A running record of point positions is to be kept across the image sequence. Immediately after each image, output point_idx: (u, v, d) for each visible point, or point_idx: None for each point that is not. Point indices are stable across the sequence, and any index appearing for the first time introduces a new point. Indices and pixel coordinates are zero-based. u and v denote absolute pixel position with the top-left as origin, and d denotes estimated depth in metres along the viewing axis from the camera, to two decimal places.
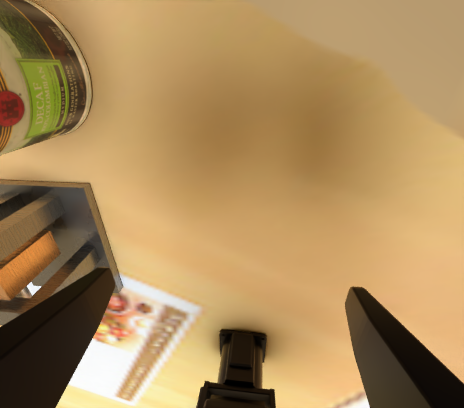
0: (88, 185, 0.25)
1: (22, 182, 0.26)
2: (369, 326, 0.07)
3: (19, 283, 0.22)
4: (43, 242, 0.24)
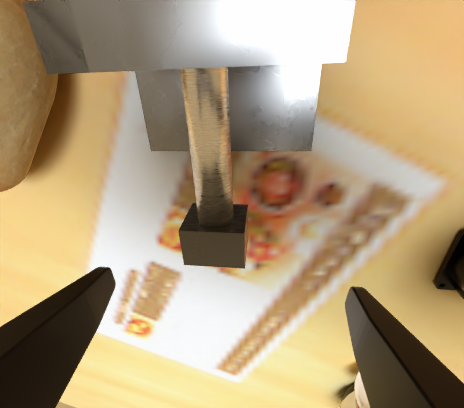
0: None
1: None
2: (369, 326, 0.07)
3: None
4: None
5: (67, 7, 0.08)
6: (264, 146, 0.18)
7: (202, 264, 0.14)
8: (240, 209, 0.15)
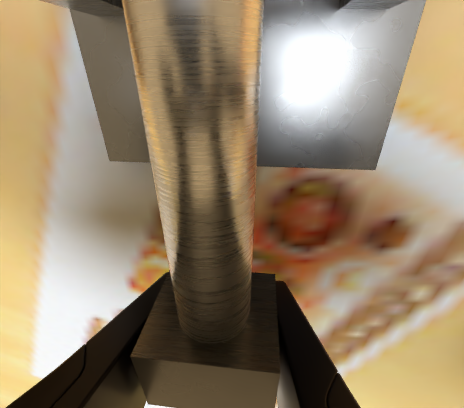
0: None
1: None
2: None
3: None
4: None
5: None
6: (296, 160, 0.11)
7: (184, 407, 0.07)
8: (262, 287, 0.08)
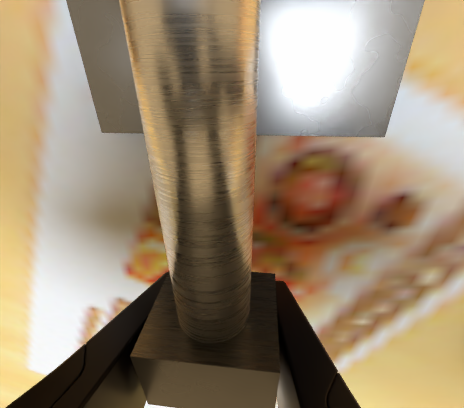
0: None
1: None
2: None
3: None
4: None
5: None
6: (300, 127, 0.10)
7: (184, 407, 0.07)
8: (262, 287, 0.08)
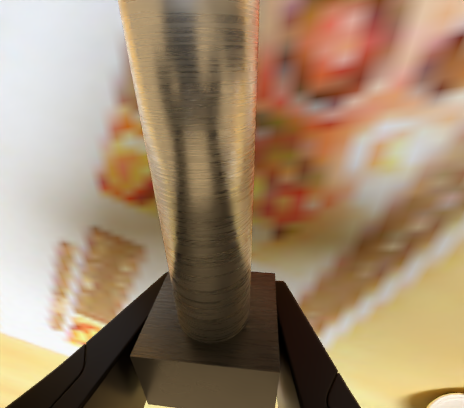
0: None
1: None
2: None
3: None
4: None
5: None
6: None
7: (184, 407, 0.07)
8: (262, 286, 0.08)
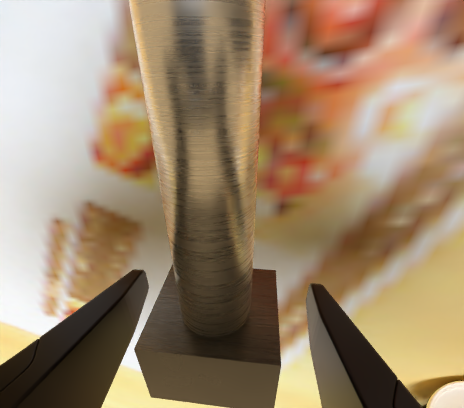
0: None
1: None
2: (320, 321, 0.07)
3: None
4: None
5: None
6: None
7: (186, 400, 0.07)
8: (263, 283, 0.08)
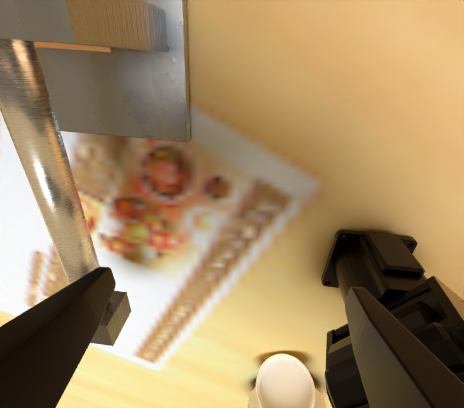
0: None
1: None
2: (369, 326, 0.07)
3: None
4: None
5: None
6: (142, 133, 0.18)
7: None
8: (118, 297, 0.20)
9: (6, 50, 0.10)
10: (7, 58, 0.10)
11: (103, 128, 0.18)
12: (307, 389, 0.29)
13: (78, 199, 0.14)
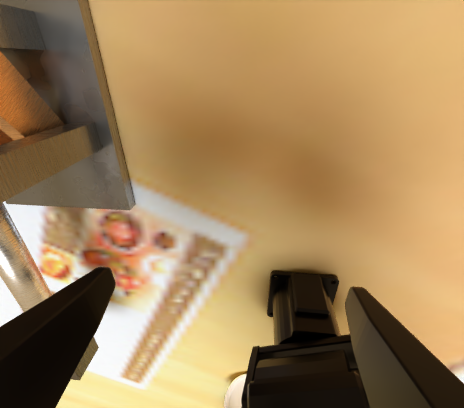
0: None
1: None
2: (369, 326, 0.07)
3: None
4: (55, 123, 0.17)
5: None
6: (93, 205, 0.22)
7: None
8: None
9: None
10: None
11: (62, 202, 0.22)
12: None
13: (36, 271, 0.18)
